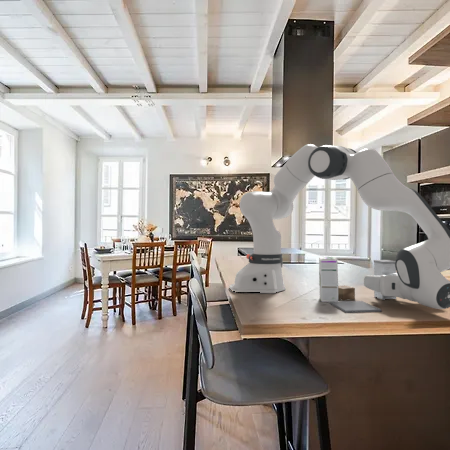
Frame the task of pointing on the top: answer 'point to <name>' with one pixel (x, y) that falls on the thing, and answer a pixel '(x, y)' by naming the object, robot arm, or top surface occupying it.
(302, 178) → the robot arm
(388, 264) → the tea tin
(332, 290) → the syrup box
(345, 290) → the walnut block
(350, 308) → the slate coaster
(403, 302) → the top surface
